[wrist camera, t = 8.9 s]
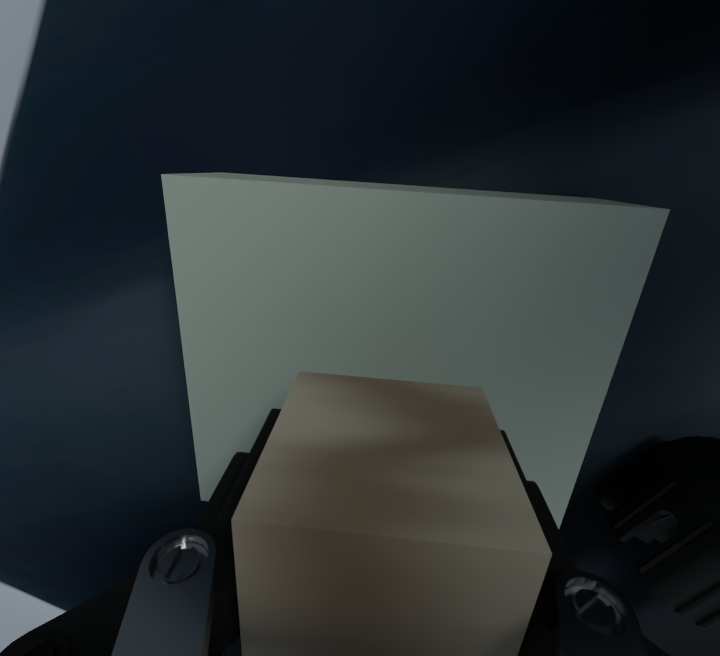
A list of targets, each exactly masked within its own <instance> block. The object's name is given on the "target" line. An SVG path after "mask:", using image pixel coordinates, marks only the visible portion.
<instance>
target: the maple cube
mask: <svg viewBox="0 0 720 656" xmlns="http://www.w3.org/2000/svg"><path fill="white" fill-rule="evenodd" d="M231 523H232V536H233V548H234V560H235V573H236V585H237V597H238V610H239V622H240V634H241V647H242V656H518V653H519V650H520V647H521V644H522V641H523V638H524V635H525V632H526V629H527V626H528V623H529V621H530V618H531V615H532V612H533V609H534V606H535V603H536V600H537V597H538V594H539V591H540V588H541V586H542V583H543V580H544V577H545V574H546V571H547V568H548V565H549V562H550V559H551V556H552V552H551V550H550V548H549V545H548V543H547V541H546V538H545V536H544V534H543V531H542V529H541V526H540V524H539V522H538V519H537V517H536V515H535V512H534V510H533V507H532V505H531V503H530V500H529V498H528V496H527V493H526V491H525V489H524V486H523V484H522V481H521V479H520V477H519V474H518V472H517V470H516V467H515V465H514V463H513V460H512V458H511V455H510V453H509V451H508V448H507V446H506V444H505V441H504V439H503V436H502V434H501V432H500V429H499V427H498V425H497V422H496V420H495V418H494V415H493V413H492V410H491V408H490V406H489V403H488V401H487V399H486V396H485V394H484V392H483V389H482V388H480V387H469V386H458V385H447V384H436V383H425V382H414V381H402V380H391V379H380V378H369V377H358V376H347V375H335V374H324V373H313V372H302V371H299V372H298V375H297V377H296V379H295V381H294V383H293V386H292V388H291V390H290V392H289V394H288V397H287V399H286V401H285V403H284V405H283V408H282V410H281V412H280V414H279V416H278V418H277V421H276V423H275V425H274V427H273V429H272V432H271V434H270V436H269V438H268V440H267V443H266V445H265V447H264V449H263V451H262V454H261V456H260V458H259V460H258V462H257V464H256V467H255V469H254V471H253V473H252V475H251V478H250V480H249V482H248V484H247V486H246V489H245V491H244V493H243V495H242V497H241V500H240V502H239V504H238V506H237V508H236V510H235V513H234V515H233V517H232V519H231Z"/></svg>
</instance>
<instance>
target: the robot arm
mask: <svg viewBox="0 0 720 656" xmlns="http://www.w3.org/2000/svg"><path fill="white" fill-rule="evenodd" d="M281 410H282V409H275V408H272V409H271V411H270V413H269V415H268V417H267V419H266V421H265V423H264V425H263V427H262V429H261V431H260V433H259V435H258V437H257V439H256V441H255V443H254V445H253V447H252V449H251V451H250V453H247V452H237V453H235V455H234V456H233V458H232V460H231V461H230V463H229V465H228V467H227V469H226V470H225V472H224V474H223V476H222V478H221V479H220V481H219V483H218V485H217V487H216V489H215V490H214V492H213V494H212V496H211V498H210V499H209V501H208V503H207V505H206V507H205V508H204V510H203V512H202V514H201V516H200V518H199V519H198V521H197V523H196V525H195V527H194V528H193V529H183V530H179V531H175V532H173V533H171V534H168V535H166V536H164V537H163V538H161V539H160V540H159V541H157V542H156V543H155V544H154V545H153V546H152V547H151V548H150V549H149V550H148V552H147V553H146V554H145V556H144V558H143V560H142V562H141V565H140V568H139V571H138V574H136V575H134V576H133V577H131V578H129V579H127V580H125V581H123V582H121V583H119V584H118V585H116V586H114V587H112V588H110V589H108V590H106V591H104V592H103V593H101V594H99V595H97V596H95V597H93V598H91V599H90V600H88V601H86V602H84V603H82V604H80V605H78V606H76V607H75V608H73V609H71V610H69V611H67V612H65V613H63V614H62V615H60V616H58V617H56V618H54V619H52V620H50V621H48V622H46V623H45V624H43V625H41V626H39V627H37V628H35V629H33V630H32V631H30V632H28V633H26V634H25V635H23V636H21V637H20V638H18V639H17V640H15V641H14V642H12V643H11V644H10V645H9V646H7V647H6V648H5V649H4V650H3V651H2V652H1V653H0V656H225V653H226V648H227V647H229V646H230V645H231V644H233V643H234V642H235V641H237V640H238V638H239V635H240V622H239V610H238V597H237V585H236V573H235V560H234V548H233V536H232V523H231V519H232V517H233V515H234V513H235V510H236V508H237V506H238V504H239V502H240V500H241V497H242V495H243V493H244V491H245V489H246V486H247V484H248V482H249V480H250V478H251V475H252V473H253V471H254V469H255V467H256V464H257V462H258V460H259V458H260V456H261V454H262V451H263V449H264V447H265V445H266V443H267V440H268V438H269V436H270V434H271V432H272V429H273V427H274V425H275V423H276V421H277V418H278V416H279V414H280V412H281ZM500 432H501V434H502V436H503V439H504V441H505V444H506V446H507V448H508V451H509V453H510V455H511V458H512V460H513V463H514V465H515V467H516V470H517V472H518V474H519V477H520V479H521V481H522V484H523V486H524V489H525V491H526V493H527V496H528V498H529V500H530V503H531V505H532V507H533V510H534V512H535V515H536V517H537V519H538V522H539V524H540V526H541V529H542V531H543V534H544V536H545V538H546V541H547V543H548V545H549V548H550V550H551V552H552V556H551V559H550V562H549V565H548V568H547V571H546V574H545V577H544V580H543V583H542V586H541V588H540V591H539V594H538V597H537V600H536V603H535V606H534V609H533V612H532V615H531V618H530V621H529V623H528V626H527V629H526V632H525V635H524V638H523V641H522V644H521V647H520V650H519V653H518V656H670V655H668V654H667V653H666V652H664V651H663V650H662V649H660V648H659V647H658V646H656V645H655V644H654V643H652V642H651V641H650V640H648V639H647V638H645V637H644V636H643V635H642V633H641V629H640V625H639V622H638V619H637V616H636V614H635V612H634V610H633V607H632V606H631V605H630V603H629V602H628V601H627V599H626V598H625V596H624V595H623V594H621V593H620V592H619V591H618V590H617V589H616V588H615V587H614V586H613V585H611V584H610V583H608V582H607V581H605V580H604V579H602V578H600V577H598V576H596V575H594V574H591V573H589V572H584V571H579V570H577V567H576V565H575V563H574V561H573V559H572V557H571V555H570V552H569V550H568V548H567V546H566V544H565V542H564V540H563V538H562V535H561V533H560V531H559V529H558V527H557V525H556V523H555V520H554V518H553V516H552V514H551V512H550V510H549V508H548V506H547V503H546V501H545V499H544V497H543V495H542V493H541V491H540V489H539V487H538V485H537V484H536V483H535V482H534V481H528V480H526V478H525V476H524V473H523V471H522V469H521V467H520V464H519V462H518V460H517V457H516V455H515V453H514V451H513V448H512V446H511V444H510V442H509V439H508V437H507V435H506V433H505V431H504V430H500Z"/></svg>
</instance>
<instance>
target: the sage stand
mask: <svg viewBox="0 0 720 656" xmlns="http://www.w3.org/2000/svg"><path fill="white" fill-rule="evenodd" d="M161 177H162V185H163V194H164V202H165V210H166V218H167V226H168V235H169V243H170V251H171V259H172V267H173V275H174V284H175V292H176V300H177V308H178V316H179V325H180V333H181V341H182V349H183V357H184V366H185V374H186V382H187V390H188V398H189V407H190V415H191V423H192V431H193V439H194V448H195V456H196V464H197V472H198V480H199V489H200V497H201V500H202V501H209V499H210V498H211V496H212V494H213V492H214V490H215V489H216V487H217V485H218V483H219V481H220V479H221V478H222V476H223V474H224V472H225V470H226V469H227V467H228V465H229V463H230V461H231V460H232V458H233V456H234V455H235V453H237V452H247V453H250V451H251V449H252V447H253V445H254V443H255V441H256V439H257V437H258V435H259V433H260V431H261V429H262V427H263V425H264V423H265V421H266V419H267V417H268V415H269V413H270V411H271V409H272V408H275V409H282V408H283V405H284V403H285V401H286V399H287V397H288V394H289V392H290V390H291V388H292V386H293V383H294V381H295V379H296V377H297V375H298V372H299V371H302V372H313V373H324V374H335V375H347V376H358V377H369V378H380V379H391V380H402V381H414V382H425V383H436V384H447V385H458V386H469V387H480V388H482V389H483V392H484V394H485V396H486V399H487V401H488V403H489V406H490V408H491V410H492V413H493V415H494V418H495V420H496V422H497V425H498V427H499V429H500V430H504V431H505V433H506V435H507V437H508V439H509V442H510V444H511V446H512V448H513V451H514V453H515V455H516V457H517V460H518V462H519V464H520V467H521V469H522V471H523V473H524V476H525V478H526V480H528V481H534V482H535V483H536V484H537V485H538V487H539V489H540V491H541V493H542V495H543V497H544V499H545V501H546V503H547V506H548V508H549V510H550V512H551V514H552V516H553V518H554V520H555V523H556V525H557V527H558V529H559V528H560V525H561V522H562V520H563V517H564V514H565V511H566V508H567V505H568V502H569V499H570V496H571V494H572V491H573V488H574V485H575V482H576V479H577V476H578V473H579V471H580V468H581V465H582V462H583V459H584V456H585V453H586V450H587V448H588V445H589V442H590V439H591V436H592V433H593V430H594V427H595V424H596V422H597V419H598V416H599V413H600V410H601V407H602V404H603V401H604V399H605V396H606V393H607V390H608V387H609V384H610V381H611V378H612V376H613V373H614V370H615V367H616V364H617V361H618V358H619V355H620V352H621V350H622V347H623V344H624V341H625V338H626V335H627V332H628V329H629V327H630V324H631V321H632V318H633V315H634V312H635V309H636V306H637V304H638V301H639V298H640V295H641V292H642V289H643V286H644V283H645V280H646V278H647V275H648V272H649V269H650V266H651V263H652V260H653V257H654V255H655V252H656V249H657V246H658V243H659V240H660V237H661V234H662V232H663V229H664V226H665V223H666V220H667V217H668V214H669V211H670V209H665V208H658V207H651V206H644V205H638V204H631V203H624V202H617V201H611V200H604V199H597V198H587V197H573V196H558V195H543V194H529V193H514V192H499V191H485V190H470V189H455V188H441V187H426V186H411V185H397V184H382V183H367V182H353V181H338V180H323V179H309V178H294V177H279V176H265V175H250V174H235V173H190V174H161Z"/></svg>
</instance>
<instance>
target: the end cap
mask: <svg viewBox="0 0 720 656" xmlns="http://www.w3.org/2000/svg"><path fill="white" fill-rule="evenodd" d="M596 497H597V499H598V500H599V502H600V503H601V505H602V506H603V507H605V508H606V509H608V510H610V511H611V512H609V513H608V514H607V515H606V516H605V517H606V520H607V522H608V523H609V525H610V527H611V528H612V530H613V531H614V533H615V535H616V536H617V538H618V540H620V541H622V542H623V543H625V542H627V541H628V540H629V539H631V538H632V537H634V536H635V537H637V538H639V539H640V540H642V541H643V542H645V543H649V542H650V541H652V540H653V539H656V540H658V541H659V542H661V543H662V544H660V545H659V546H657V547H656V548H654V549H653V550H652V551H650V552H649V553H647V554H646V555H644V556H643V557H641V558H640V559H638V560H637V561H636V562H634V563H633V565H634V566H635V568H636V570H637V571H638V573H639V575H640V576H641V578H642V579H643V581H644V583H645V584H646V586H647V588H648V589H649V591H650V592H651V593H652V595H653V596H654V597H655V598H656V599H657V600H658V601H659V602H660V603H661V604H662V605H663V606H664V607H666V608H667V609H669V610H671V611H672V612H674V613H676V614H677V615H679V616H681V617H682V618H684V619H686V620H688V621H689V622H691V623H693V624H694V625H696V626H698V627H699V628H701V629H703V630H704V631H706V632H707V631H708V630H710V629H712V628H714V627H715V626H717V625H719V624H720V439H718V438H713V437H701V436H695V437H685V438H680V439H677V440H673V441H670V442H663V443H658V444H656V445H654V446H652V447H650V448H648V449H647V450H645V451H644V452H643V453H641V454H640V455H639V456H638V457H636V458H635V459H634V460H633V461H631V462H630V463H629V464H628V465H627V466H625V467H624V468H623V469H622V470H620V471H619V472H618V473H617V474H615V475H614V476H613V477H612V478H610V479H609V480H608V481H607V482H605V483H604V484H603V485H602V486H601V487H599V488H598V490H597V491H596Z"/></svg>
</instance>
